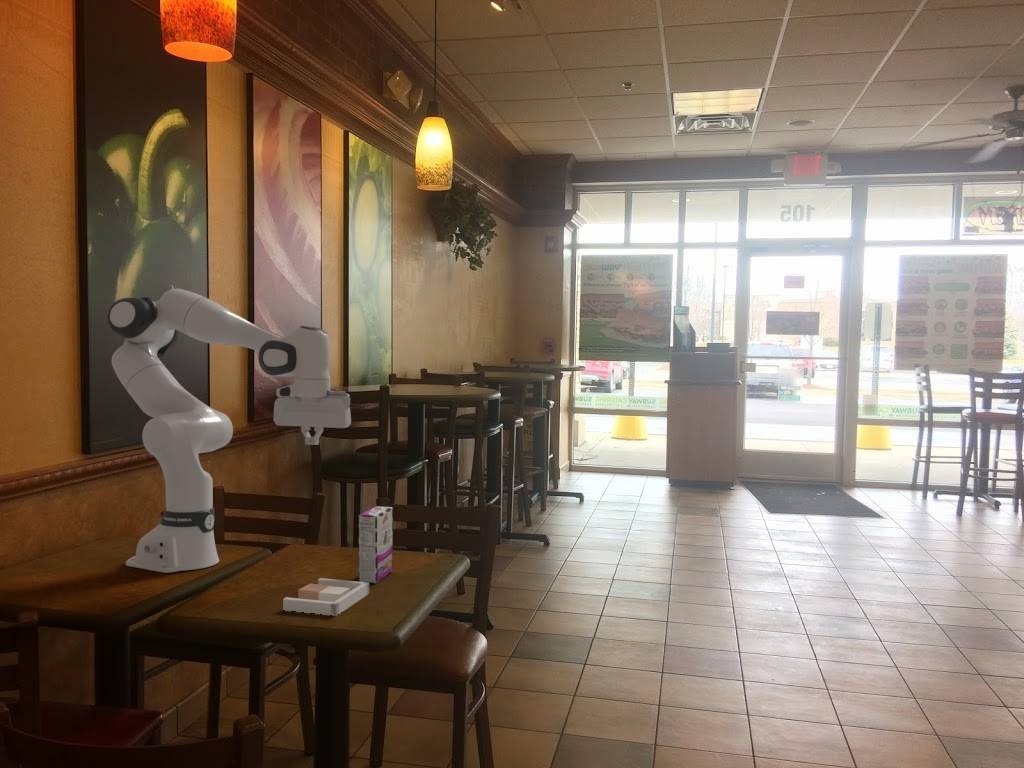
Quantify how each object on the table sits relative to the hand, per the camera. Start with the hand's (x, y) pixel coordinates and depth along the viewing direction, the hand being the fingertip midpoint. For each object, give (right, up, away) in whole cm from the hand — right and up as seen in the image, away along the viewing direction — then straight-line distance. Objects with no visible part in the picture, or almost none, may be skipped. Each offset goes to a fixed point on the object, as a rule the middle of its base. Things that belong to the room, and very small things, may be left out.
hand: (312, 444), depth 203 cm
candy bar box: (+18, -32, -9) cm, 38 cm away
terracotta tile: (+7, -33, -27) cm, 43 cm away
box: (+11, -32, -28) cm, 44 cm away
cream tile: (+12, -33, -29) cm, 45 cm away
